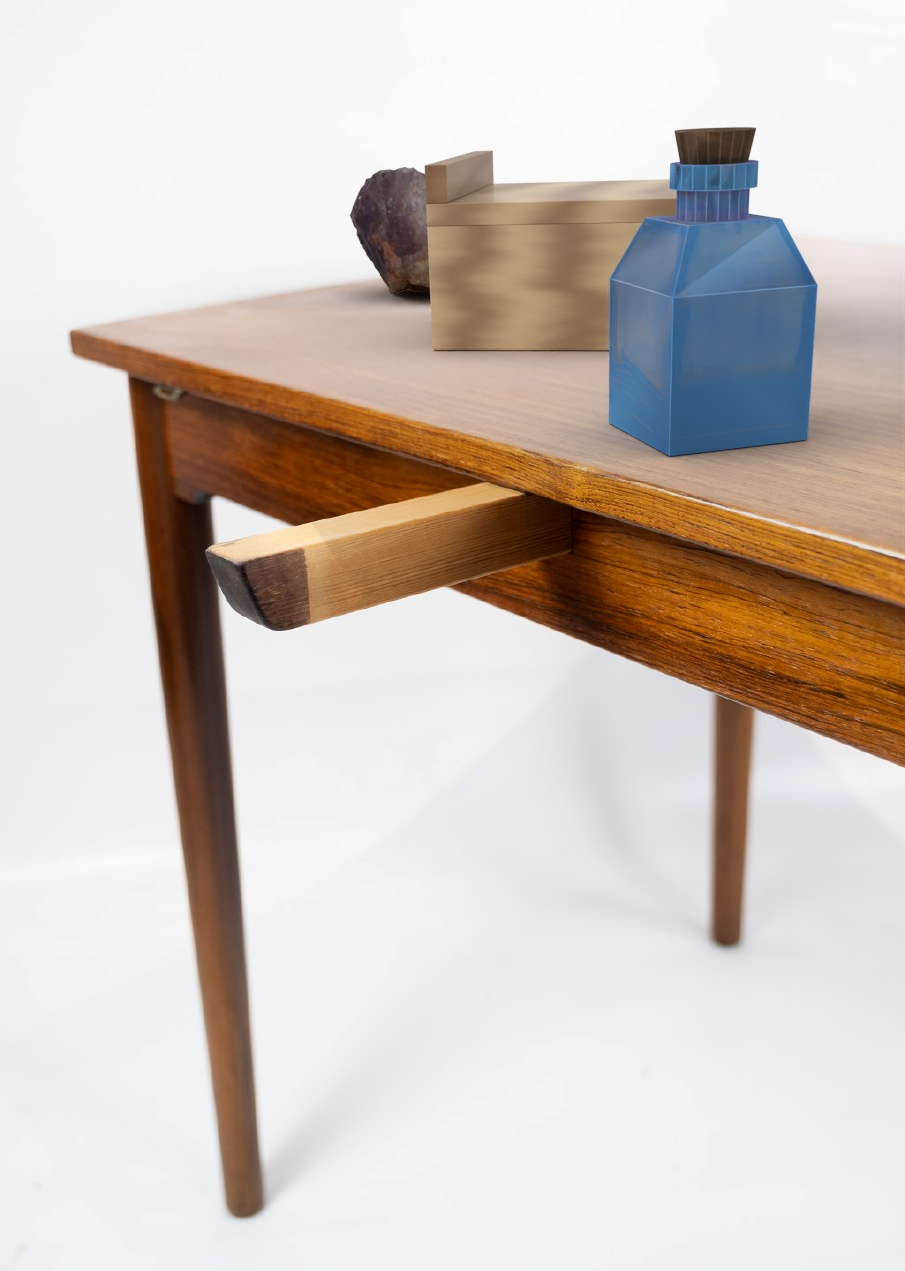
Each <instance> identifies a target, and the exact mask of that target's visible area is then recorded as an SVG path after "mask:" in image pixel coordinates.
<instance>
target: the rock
mask: <svg viewBox="0 0 905 1271" xmlns="http://www.w3.org/2000/svg"><path fill="white" fill-rule="evenodd" d="M426 205H427V203H426V187H425V172H424V173H423V172H421V171H419V170H417V169H416V168H415V167H407V166H402V167H398V168H396V169H390V168H387V169H381V170H378V171H376V172H375V173H373V174H371V177H367V178H365V181H364V183H363V185H362V186H361V187H360V190H359V191H358V193H357V195H356V197H355V200H354V202H353V204H352V208H351V211H350V214H349V217H350V219H351V223H352V225H353V227H354V229H355V230H356V238H357V240H358V241H359V244H360V245H361V247H362V248H361V249H362V250H363V251H364V252H365V255H366V256H367V258H368V259H369V260H370V262H371V263H372V264H373V266H374V269H375V270H376V271H377V273H378V274H379V276H380V278H381V279H382V281H383V282H384V283H385V285H386V286H387V288H388V291H389V293H390V294H391V295H397V294H399V293H401V292H406V291H411V292H414V293H424V294H425V293H426V294H430V278H429V255H428V232H427V227H428V226H427V208H426Z"/></svg>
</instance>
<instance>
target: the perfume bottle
mask: <svg viewBox="0 0 905 1271" xmlns="http://www.w3.org/2000/svg"><path fill="white" fill-rule="evenodd" d="M756 132H757V127H751V126H738V127H737V126H736V127H735V126H732V127H731V126H729V127H728V126H727V127H701V128H699V127H697V128H684V129H676V130H674V136H675V137H674V138H675V142H676V148H677V153H678V159H679V161H675V162H670V163H669V179H670V186H669V189H671V190H677V198H676V215H672V216H657V217H646V218H645V219H644V221H643V223H642V224H641V226H640V228H639V229H638V231H637V233H636V235H635V236H634V238H633V240H632V241H631V243H630V245H629V246H628V248H627V250H626V251H625V253H624V255H623V257H622V258H621V260H620V262H619V263H618V265H617V267H616V268H615V270H614V272H613V274H612V275H611V277H610V307H609V350H608V423H609V424H610V425H612V426H614V427H616V428H617V429H619V430H621V431H623V432H625V433H626V434H628V435H630V436H632V437H634V438H635V439H636V440H639V441H640V442H643V443H644V444H646V445H648V446H650V447H652V448H653V449H655V450H657V451H659V452H660V453H661V454H665V455H666V456H668V457H673V456H674V457H675V456H682V455H689V454H690V455H691V454H697V453H707V452H715V451H717V452H718V451H723V450H724V451H725V450H732V449H733V450H734V449H742V448H749V447H750V448H751V447H757V446H766V445H774V444H775V445H776V444H782V443H783V444H784V443H790V442H791V443H793V442H799V441H807V440H809V439H808V437H809V427H810V426H809V424H810V410H811V409H810V408H811V395H812V394H811V393H812V379H813V364H814V348H815V347H814V346H815V331H816V330H815V329H816V318H817V317H816V316H817V303H818V302H817V300H818V283H817V281H816V279H815V277H814V275H813V274H812V272H811V270H810V268H809V267H808V264H807V263H806V261H805V259H804V257H803V255H802V253H801V251H800V249H799V248H798V246H797V244H796V242H795V240H794V239H793V236H792V235H791V233H790V231H789V229H788V227H787V226H786V223H785V222H784V220H783V218H780V217H773V216H768V215H762V214H755V213H750V193H751V192H750V191H751V189H755V188H757V187H758V182H759V160H755V159H750V156H751V152H752V148H753V143H754V140H755V135H756Z"/></svg>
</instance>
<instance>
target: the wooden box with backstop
mask: <svg viewBox="0 0 905 1271" xmlns="http://www.w3.org/2000/svg"><path fill="white" fill-rule="evenodd" d="M424 174H425V187H426V203H427V205H426V208H427V226H428V227H427V232H428V255H429V278H430V293H429V296H430V298H429V300H430V321H431V343H432V346H431V347H432V350H433V351H609V307H610V277H611V275H612V274H613V272H614V270H615V268H616V267H617V265H618V263H619V262H620V260H621V258H622V257H623V255H624V253H625V251H626V250H627V248H628V246H629V245H630V243H631V241H632V240H633V238H634V236H635V235H636V233H637V231H638V229H639V228H640V226H641V224H642V223H643V221H644V219H645V218H646V217H657V216H672V215H676V198H677V190H671V189H669V186H670V178H669V179H668V178H667V179H665V178H664V179H628V180H627V179H626V180H592V181H591V180H590V181H589V180H586V181H585V180H584V181H547V182H545V181H544V182H511V183H510V182H509V183H508V182H507V183H505V182H504V183H494V181H495V180H494V151H493V150H474V151H471V152H470V151H469V152H467V153H464V154H463V153H462V154H459V155H456V156H452V157H449V158H445V159H443V160H439V161H435V162H431V163H428V164H425V165H424Z"/></svg>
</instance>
